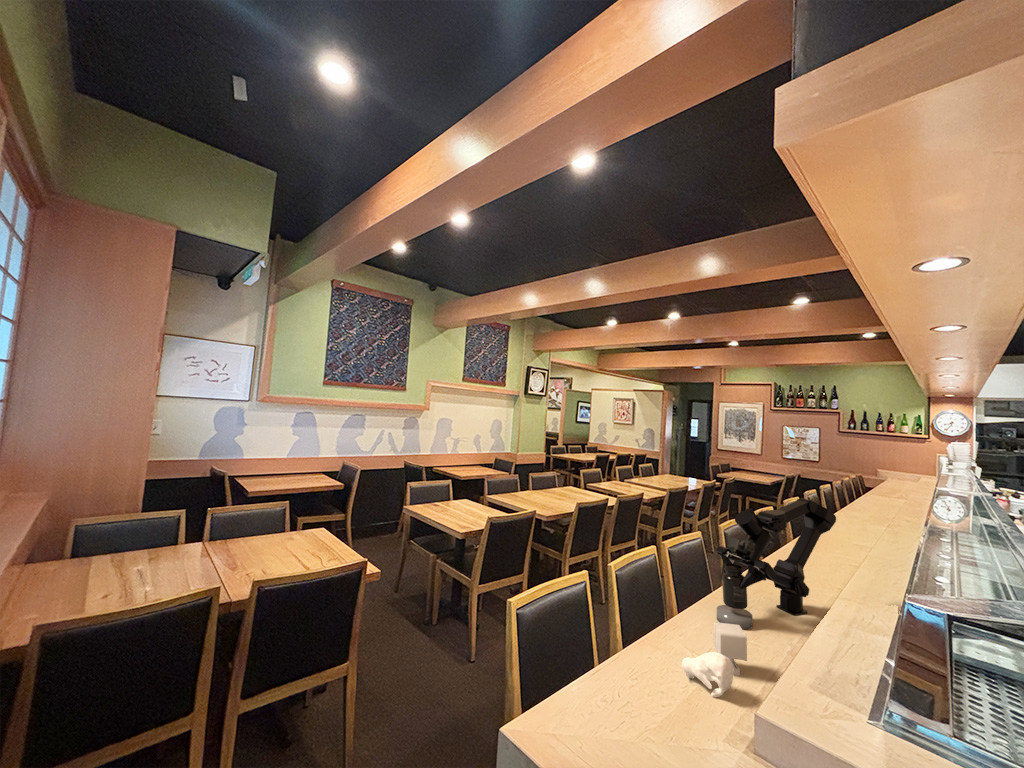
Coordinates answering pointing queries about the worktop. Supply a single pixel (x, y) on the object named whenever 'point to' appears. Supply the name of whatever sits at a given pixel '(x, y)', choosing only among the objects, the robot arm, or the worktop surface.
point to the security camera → (730, 642)
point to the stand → (734, 616)
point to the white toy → (710, 671)
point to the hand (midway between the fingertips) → (731, 583)
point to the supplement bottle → (734, 587)
